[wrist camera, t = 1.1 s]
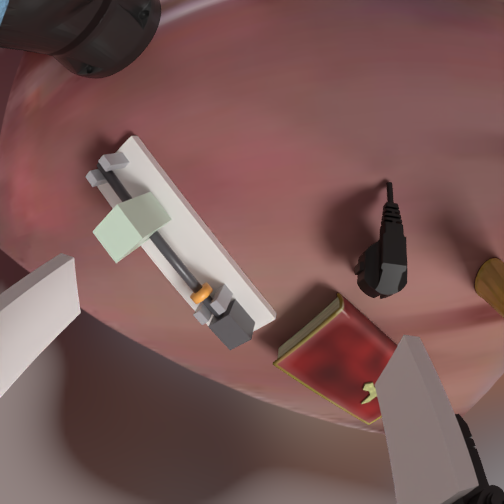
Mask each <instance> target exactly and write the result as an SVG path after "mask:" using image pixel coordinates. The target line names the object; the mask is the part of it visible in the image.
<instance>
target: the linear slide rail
mask: <svg viewBox="0 0 504 504" xmlns="http://www.w3.org/2000/svg"><path fill="white" fill-rule="evenodd" d="M98 161H99V163H98V164H97V168H98V169H96V170H91V171H89V173H88V174H87V175H86V176H85V177H86V178H87V180H88V181H89V183H90V184H91V185H92V187H94V186H97V187H98V188H99V190H100V191H101V193H102V194H103V196H104V197H105V198H106V200H107V201H108V203H109V204H110V205H111V207H112V208H114V207H115V206H116V205H117V204H119V203H122V202H124V201H127V200H130V199H132V198H135V197H137V196H140V195H143V194H146V193H148V192H151V193H152V194H153V195H154V197H155V198H156V199H157V201H158V202H159V203H160V205H161V206H162V207H163V209H164V210H165V211H166V212H167V214H168V215H169V216H170V218H171V219H172V220H170V221H169V222H168V223H167V224H166V225H165V226H163V227H162V228H160V229H159V230H157V231H156V232H154V233H153V234H152V235H151V236H150V237H149V238H150V239H149V240H148V241H146V242H145V243H144V244H142V245H141V246H142V248H143V249H144V250H145V252H146V253H147V254H148V255H149V257H150V258H151V259H152V260H153V262H154V263H155V264H156V265H157V267H158V268H159V269H160V270H161V271H162V273H163V274H164V275H165V276H166V278H167V279H168V280H169V281H170V282H171V284H172V285H173V286H174V287H175V288H176V289H177V291H178V292H179V293H180V294H181V295H182V297H183V298H184V299H185V300H186V301H187V302H188V303H189V305H190V306H191V307H192V308H193V309H194V310H195V312H194V314H193V315H194V316H195V318H196V319H197V320H198V321H199V322H200V323H201V324H202V325H203V324H205V323H206V324H207V325H208V327H209V328H210V329H211V330H212V331H213V332H214V333H215V335H216V336H217V337H218V338H219V339H220V340H221V341H222V342H223V343H224V344H225V345H226V346H227V347H228V348H229V350H231V349H233V348H235V347H237V346H239V345H241V344H243V343H245V342H247V341H249V340H251V338H252V334H253V331H255V330H257V329H259V328H261V327H263V326H264V325H266V324H268V323H270V322H272V321H273V320H275V319H276V312H275V310H274V309H273V308H272V307H271V306H270V304H269V303H268V302H267V301H266V299H265V298H264V297H263V296H262V294H261V293H260V292H259V291H258V290H257V288H256V287H255V286H254V285H253V283H252V282H251V281H250V280H249V278H248V277H247V276H246V275H245V273H244V272H243V271H242V270H241V268H240V267H239V266H238V265H237V263H236V262H235V261H234V260H233V258H232V257H231V256H230V255H229V253H228V252H227V251H226V250H225V248H224V247H223V246H222V244H221V243H220V242H219V241H218V239H217V238H216V237H215V236H214V234H213V233H212V232H211V231H210V229H209V228H208V227H207V225H206V224H205V223H204V222H203V220H202V219H201V218H200V217H199V215H198V214H197V213H196V211H195V210H194V209H193V208H192V206H191V205H190V204H189V202H188V201H187V200H186V199H185V197H184V196H183V195H182V193H181V192H180V191H179V190H178V188H177V187H176V186H175V184H174V183H173V182H172V180H171V179H170V178H169V177H168V175H167V174H166V173H165V171H164V170H163V169H162V167H161V166H160V165H159V164H158V162H157V161H156V160H155V158H154V157H153V156H152V154H151V153H150V152H149V150H148V149H147V148H146V146H145V145H144V144H143V142H142V141H141V140H140V138H139V137H138V136H131V137H130V138H129V139H128V140H127V141H126V142H125V143H124V144H123V145H122V146H121V147H120V148H119V149H118V151H117V152H116V153H113V154H104V155H103V156H102V157H101V158H100V159H99V160H98Z"/></svg>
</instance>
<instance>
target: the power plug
mask: <svg viewBox="0 0 504 504" xmlns="http://www.w3.org/2000/svg"><path fill="white" fill-rule="evenodd" d="M387 200H388V202H386V203H385V205H384V207H383V214H382V215H383V216H382V222H381V225H382V226H381V227H380V238H379V241H377V242H376V243H374V244H373V245H371V246H370V247H369V248H368V249H367V250H366V251H365V252H364V253H363V254H362V255H361V256H360V258H359V260H358V264H357V265H356V266H355V275H358V279H357V284H358V286H359V287H360V289H361V290H362V291H363V292H364V293H365V294H366V295H368V296H370V297H372V298H375V297H377V296H379V295H380V299H382V298H386V297H389V296H391V295H393V294H395V293H397V292H399V291H401V290H402V289H403V288H404V287H405V285H406V284H407V252H406V237H404V234H403V225H402V224H401V223H402V220H401V215H399V214H400V211H399V210H398V209H399V207H398V204H396V203H394V202H393V188H392V183H391V182H387Z"/></svg>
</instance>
